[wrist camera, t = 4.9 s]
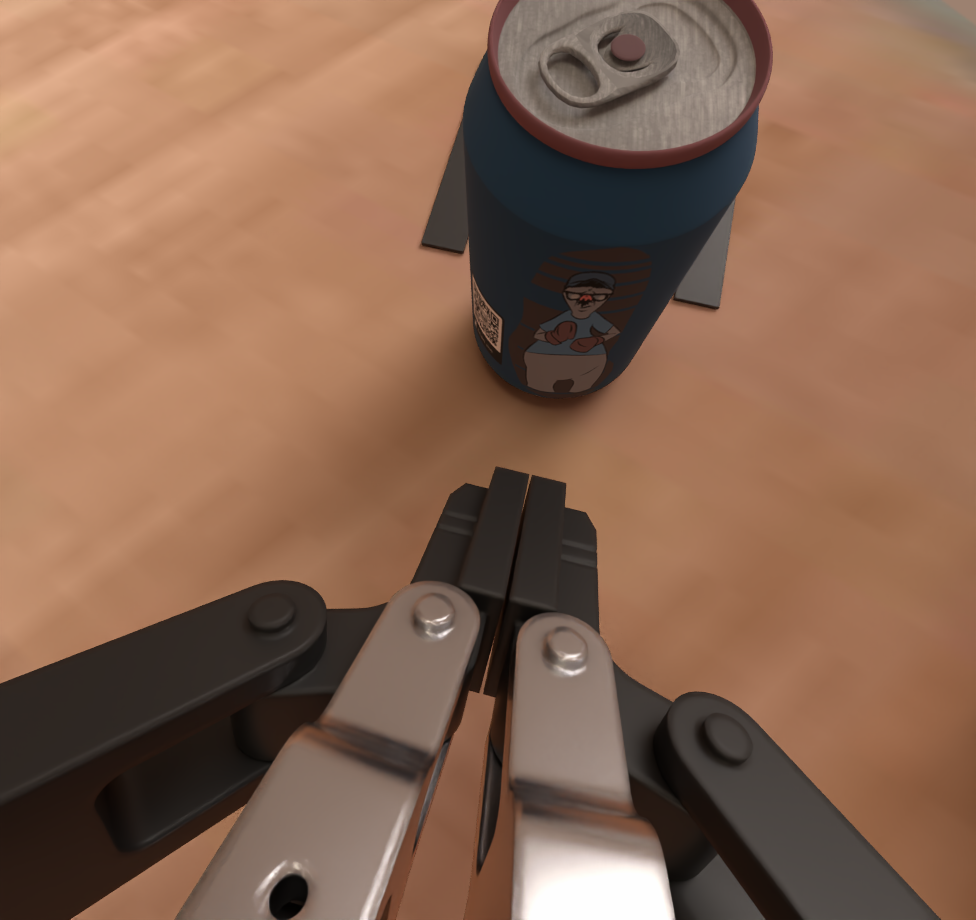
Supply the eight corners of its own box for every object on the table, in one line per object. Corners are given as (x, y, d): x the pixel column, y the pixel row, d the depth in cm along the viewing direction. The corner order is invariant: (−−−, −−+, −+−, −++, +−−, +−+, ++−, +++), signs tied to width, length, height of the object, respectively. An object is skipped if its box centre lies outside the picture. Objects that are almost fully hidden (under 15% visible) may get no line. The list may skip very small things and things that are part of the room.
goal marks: (717, 309, 22) (719, 307, 21) (421, 244, 22) (421, 242, 22) (747, 108, 24) (749, 105, 24) (483, 57, 25) (483, 54, 25)
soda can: (578, 244, 22) (674, -121, 11) (662, 363, 21) (879, 90, 9) (446, 308, 22) (397, -11, 10) (524, 438, 20) (573, 239, 8)
